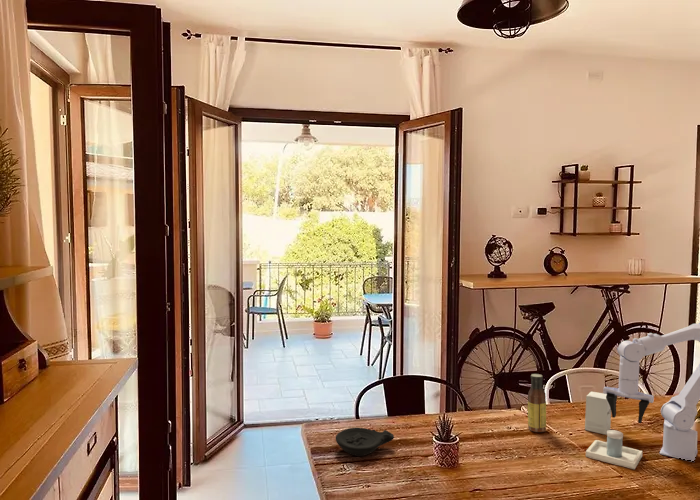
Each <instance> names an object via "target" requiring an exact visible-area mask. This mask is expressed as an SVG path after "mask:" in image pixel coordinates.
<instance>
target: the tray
mask: <svg viewBox="0 0 700 500" xmlns="http://www.w3.org/2000/svg"><path fill="white" fill-rule="evenodd" d="M585 458H590V459H593V460H596V461H597V460H598V461H601V462H604V463H608V464H612V465H616V466H620V467H623V468H626V469H631V470H636V468H637V466H638V465H639V463H640V461H641V459H642V458H643V450H639V449H635V448H632V447H628V446H624V445H622V457H621V458H614V457H611V456H608V455H607V441H602V440H599V439H595V440H594V441H593V442H592V443H591V445H590V446H589V447H588V448H587V449H586V450H585Z"/></svg>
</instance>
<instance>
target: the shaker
mask: <svg viewBox="0 0 700 500" xmlns="http://www.w3.org/2000/svg"><path fill="white" fill-rule="evenodd" d="M606 436H607V437H606V442H607V455H608V456H611V457H614V458H621V457H622V446H623V438H624V433H623V432H621V430H617V429H609V430H608V431H607V434H606Z"/></svg>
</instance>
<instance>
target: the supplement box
mask: <svg viewBox="0 0 700 500" xmlns="http://www.w3.org/2000/svg"><path fill="white" fill-rule="evenodd" d="M606 396H607V394H603V392H596V391H590V392H589V393H588V394H586V396H585V397H586V399H585V413H584V414H585V415H584V416H585V419H584V420H585V421H584V430H585V431H588V432H592V433H597V434H602V435H606V436H607V431H608V430H611V425H612V424H611V423H612V419H611V418H612V412H611V408H610V405H609V403H608V401H607V399H606Z"/></svg>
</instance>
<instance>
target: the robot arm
mask: <svg viewBox="0 0 700 500" xmlns="http://www.w3.org/2000/svg"><path fill="white" fill-rule="evenodd" d="M692 340H693V341H697V342H699V343H700V322H698V323H692V324H690V325H688V326H685V327H682V328H680V329H677V330H674V331H671V332H668V333H665V334H662V335H660V334H657V333H652V332H649V333H647V336H642V337H639V338H638V337H634V338H632V341H631V340H624V341H621V342H620V343H619V345H618V346H617V348H616V351H617V354H618V355H619V369H618V370H619V371H618V372H619V373H618V387H610V386H604V387H603V388H602V390H603V391H602V393H603V394H607V396H606V399H607V401H608V403H609V405H610V408H611V418H614V419H615V418H616V417H617V402H618V401H617V400H618V399H617V398H618V397H622V398H628V399H633V400H637V401H639V402H638V418H637V423H638V424H641V423H642V421H643V417H644V414H645V412H646V410H647V408H648V406H649V404H650V403H651V404H653V403H654V399H655V398H654V397H655V396H654V395H652V394H648V393H644V392H640V391H639V377H640V361H641V360H642V359H643V358H644V357H645V356H649V355H653V354H657V353H659V352H663V351H665V349H666V347H667V346H670V345H674V344H680V343H683V342H687V341H692ZM699 402H700V363H698V365H697V367H696V368H695V370H694V371H693V373H692V374H691V375H690V377H689V379H688V380H687V382H686V383H685V384H684V386H683V387H682V389H681V390H680V392H679V394H676V395H675V396H671V398H670V399H669V401H667V402H665V403H663V405H662V406H661V408H660V414H661V416H662V418H663V419H664V422H663V432H662V433H663V435H662V436H663V437H662V447H661V448H660V451H659V455H663V456H667V457H672V458H676V459H679V458H681V460H683V459H685V460H684V461H687V460H691V461H690V462H692V461H694V460H696V458H695V457H697V455H698V431H697V430H695V429H692V428H693V427H694V425H695V420H696V417H697V415H698V409H697V405H698V403H699ZM694 462H695V461H694Z"/></svg>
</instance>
